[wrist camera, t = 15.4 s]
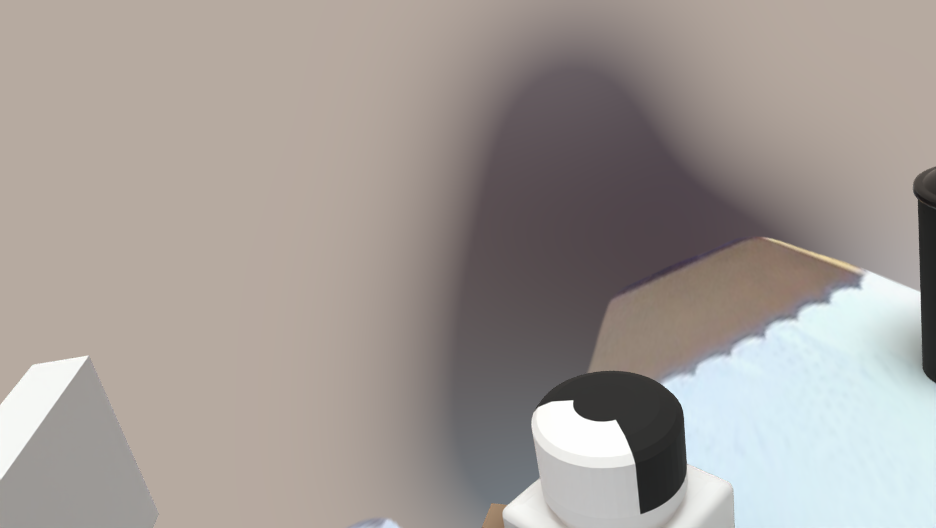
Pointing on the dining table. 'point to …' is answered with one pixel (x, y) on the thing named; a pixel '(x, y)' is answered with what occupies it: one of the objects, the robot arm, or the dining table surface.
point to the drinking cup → (927, 265)
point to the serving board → (494, 517)
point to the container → (616, 461)
